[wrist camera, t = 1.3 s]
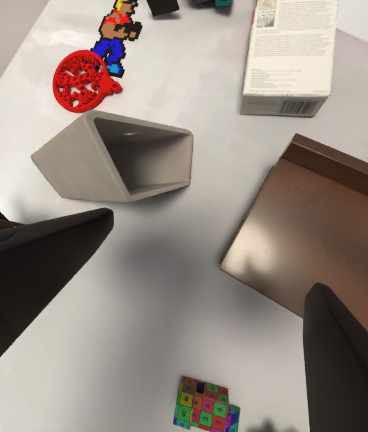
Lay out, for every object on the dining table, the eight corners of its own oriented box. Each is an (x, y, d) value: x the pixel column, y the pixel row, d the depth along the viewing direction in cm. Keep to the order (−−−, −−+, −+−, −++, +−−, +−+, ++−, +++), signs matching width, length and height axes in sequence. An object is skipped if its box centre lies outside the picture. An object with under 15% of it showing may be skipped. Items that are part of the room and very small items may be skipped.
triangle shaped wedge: (-30, 212, 23) (103, 210, 13) (-50, 153, 21) (81, 106, 12) (88, 191, 35) (198, 182, 26) (80, 153, 34) (192, 130, 25)
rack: (371, 352, 20) (459, 418, 13) (218, 262, 23) (217, 273, 16) (433, 240, 20) (555, 240, 13) (272, 166, 23) (296, 132, 16)
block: (177, 417, 22) (169, 448, 19) (183, 376, 23) (176, 399, 19) (236, 436, 21) (238, 473, 18) (241, 393, 21) (245, 421, 18)
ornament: (49, 107, 29) (113, 119, 27) (46, 105, 29) (111, 117, 27) (64, 50, 29) (129, 58, 27) (61, 47, 29) (127, 54, 27)
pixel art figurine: (82, 68, 29) (115, -11, 30) (84, 70, 29) (116, -8, 30) (120, 77, 28) (154, -6, 28) (122, 79, 28) (155, -3, 29)
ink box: (239, 115, 25) (254, 3, 26) (315, 118, 23) (326, -1, 25) (242, 93, 21) (259, -36, 23) (331, 95, 20) (344, -43, 21)
